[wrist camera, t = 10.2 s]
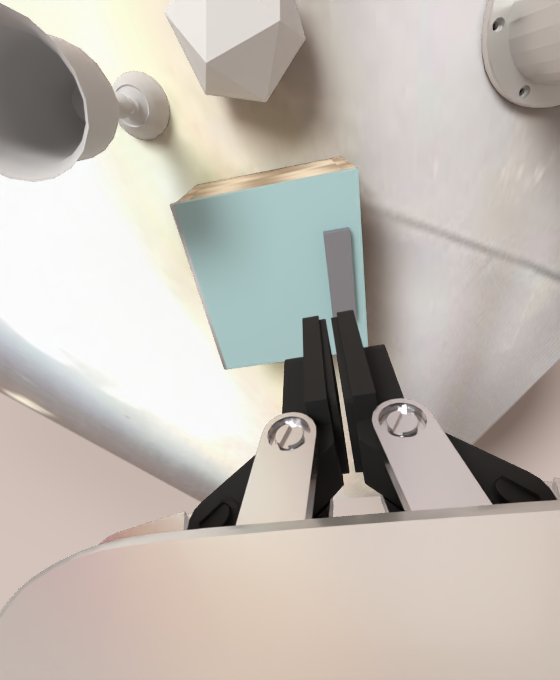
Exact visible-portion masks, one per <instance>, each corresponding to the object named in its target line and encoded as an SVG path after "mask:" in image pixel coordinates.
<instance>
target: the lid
mask: <svg viewBox="0 0 560 680" xmlns="http://www.w3.org/2000/svg"><path fill="white" fill-rule="evenodd" d="M170 207H171V210H172V213H173V216H174V219H175V222H176V225H177V229H178V232H179V235H180V238H181V241H182V244H183V247H184V250H185V253H186V256H187V259H188V262H189V265H190V268H191V271H192V274H193V277H194V280H195V283H196V286H197V289H198V292H199V295H200V298H201V301H202V304H203V307H204V310H205V313H206V316H207V319H208V322H209V325H210V328H211V331H212V334H213V337H214V340H215V343H216V346H217V349H218V352H219V355H220V358H221V361H222V364H223V367H224V369H233V368H241V367H248V366H255V365H262V364H270V363H277V362H284V361H285V360H286V359H291V358H298V357H303V327H302V318H306V317H312V316H319V320H320V319H326V324H327V330H328V336H329V341H330V347H331V353H332V355H335V354H336V348H335V341H334V335H333V329H332V322H331V318H332V317H337V312H342V311H348V310H353V311H354V315H355V318H356V322H357V326H358V329H359V333H360V337H361V340H362V344H363V347H368V337H367V319H366V301H365V283H364V265H363V247H362V229H361V211H360V193H359V175H358V169H357V168H352V169H347V170H341V171H336V172H331V173H326V174H321V175H316V176H310V177H305V178H300V179H295V180H290V181H284V182H279V183H274V184H269V185H264V186H259V187H253V188H248V189H243V190H238V191H233V192H227V193H222V194H217V195H212V196H207V197H202V198H196V199H191V200H186V201H181V202H176V203H172V204H170Z"/></svg>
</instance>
